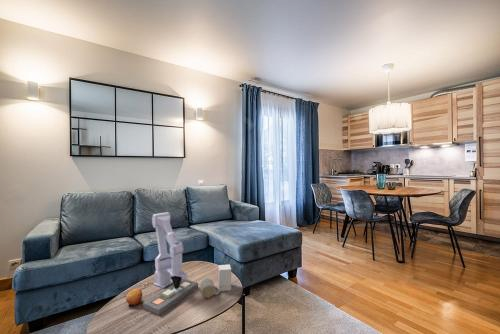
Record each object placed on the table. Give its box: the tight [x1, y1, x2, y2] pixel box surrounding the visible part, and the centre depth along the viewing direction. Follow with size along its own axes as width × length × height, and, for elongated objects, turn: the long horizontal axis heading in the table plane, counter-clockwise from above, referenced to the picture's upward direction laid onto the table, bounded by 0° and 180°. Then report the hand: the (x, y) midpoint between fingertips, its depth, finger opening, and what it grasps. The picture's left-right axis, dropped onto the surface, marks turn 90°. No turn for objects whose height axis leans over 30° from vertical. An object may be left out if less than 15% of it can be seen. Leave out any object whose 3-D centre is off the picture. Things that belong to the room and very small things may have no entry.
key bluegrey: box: [172, 287, 183, 293], centre depth 132 cm, size 4×4×2 cm
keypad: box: [142, 278, 199, 316], centre depth 130 cm, size 12×29×3 cm, turn 152°
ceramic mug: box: [200, 278, 221, 299], centre depth 133 cm, size 11×8×8 cm
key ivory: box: [180, 282, 191, 287], centre depth 138 cm, size 4×4×2 cm
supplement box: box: [218, 263, 232, 292], centre depth 140 cm, size 7×7×13 cm
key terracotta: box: [152, 298, 165, 306], centre depth 121 cm, size 4×4×2 cm
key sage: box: [162, 289, 174, 299], centre depth 127 cm, size 4×4×2 cm
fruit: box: [125, 287, 143, 306], centre depth 125 cm, size 8×8×8 cm
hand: (176, 288), depth 132 cm, fingers closed
